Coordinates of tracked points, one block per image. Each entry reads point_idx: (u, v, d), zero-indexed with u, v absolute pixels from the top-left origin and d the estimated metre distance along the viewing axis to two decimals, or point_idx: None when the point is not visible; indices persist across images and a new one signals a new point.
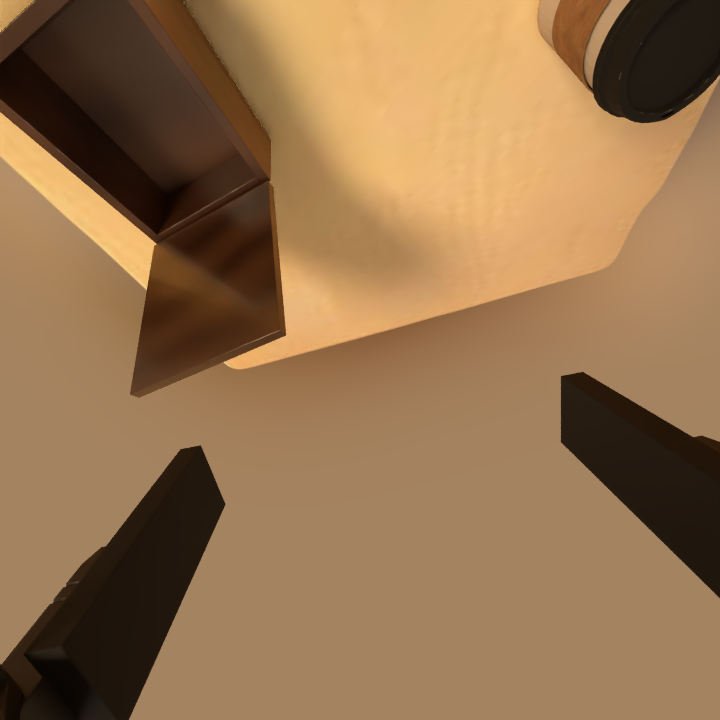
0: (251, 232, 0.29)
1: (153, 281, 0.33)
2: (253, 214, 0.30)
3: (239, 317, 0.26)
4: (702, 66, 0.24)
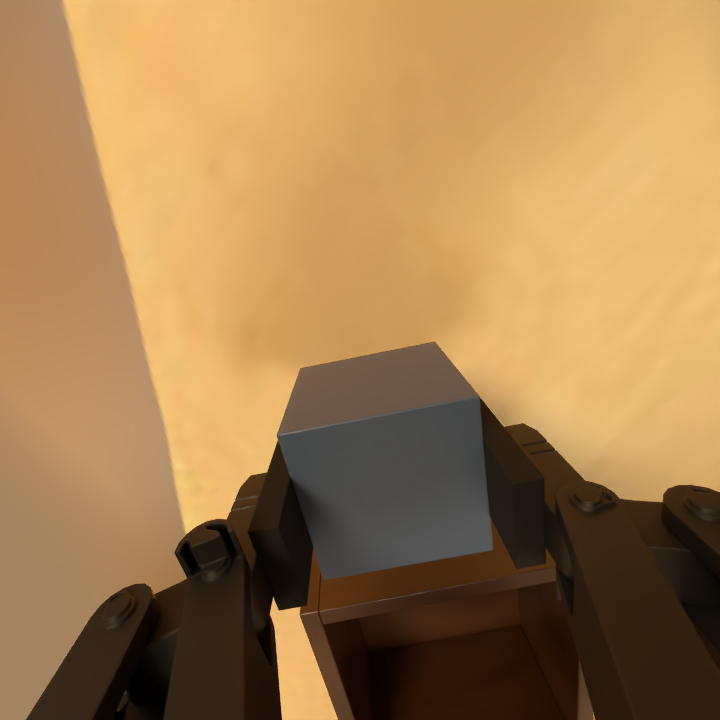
0: None
1: None
2: None
3: None
4: None
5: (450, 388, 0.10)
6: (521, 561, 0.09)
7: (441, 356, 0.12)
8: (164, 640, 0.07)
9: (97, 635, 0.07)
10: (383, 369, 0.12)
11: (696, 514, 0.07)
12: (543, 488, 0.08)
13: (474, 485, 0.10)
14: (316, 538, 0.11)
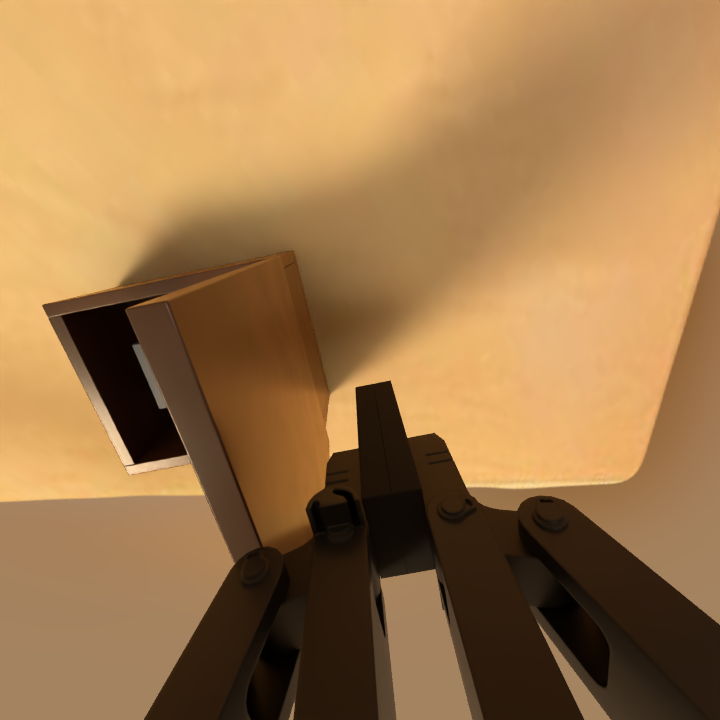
0: None
1: None
2: None
3: None
4: None
5: None
6: (411, 566, 0.09)
7: None
8: (293, 609, 0.07)
9: (237, 589, 0.07)
10: None
11: (543, 526, 0.07)
12: (422, 497, 0.09)
13: None
14: None
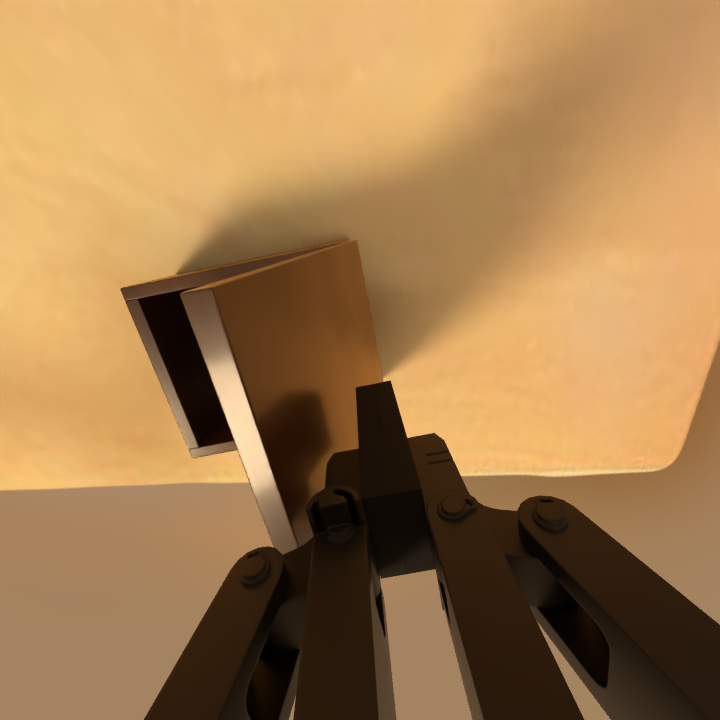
0: None
1: None
2: None
3: None
4: None
5: None
6: (411, 566, 0.09)
7: None
8: (293, 609, 0.07)
9: (237, 588, 0.07)
10: None
11: (543, 526, 0.07)
12: (422, 498, 0.09)
13: None
14: None
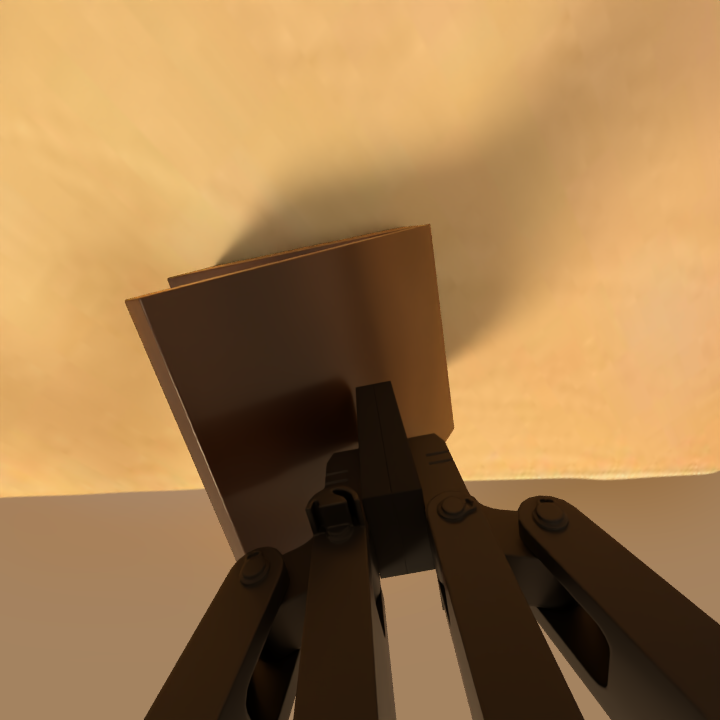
0: None
1: None
2: None
3: None
4: None
5: None
6: (411, 566, 0.09)
7: None
8: (293, 609, 0.07)
9: (237, 588, 0.07)
10: None
11: (543, 526, 0.07)
12: (422, 498, 0.09)
13: None
14: None
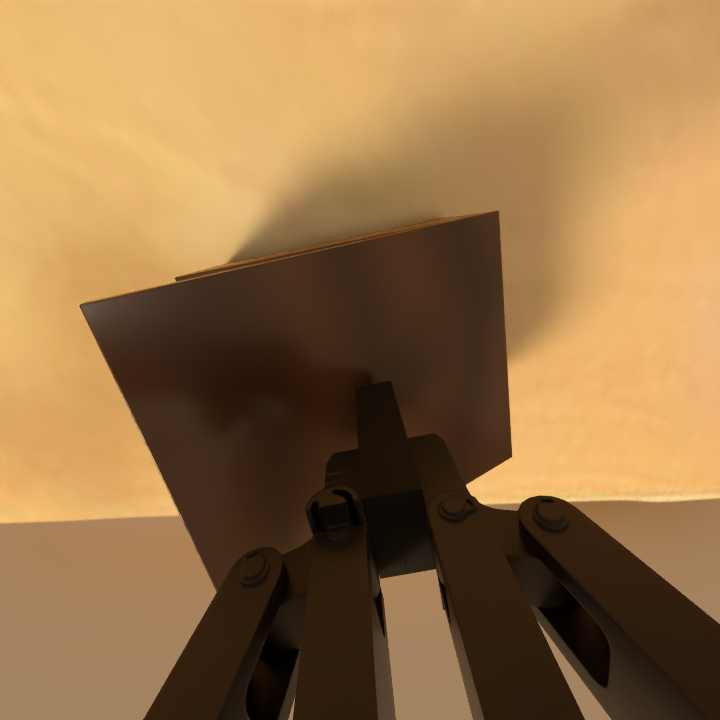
0: None
1: None
2: None
3: None
4: None
5: None
6: (412, 566, 0.09)
7: None
8: (293, 609, 0.07)
9: (237, 589, 0.07)
10: None
11: (544, 526, 0.07)
12: (423, 497, 0.09)
13: None
14: None
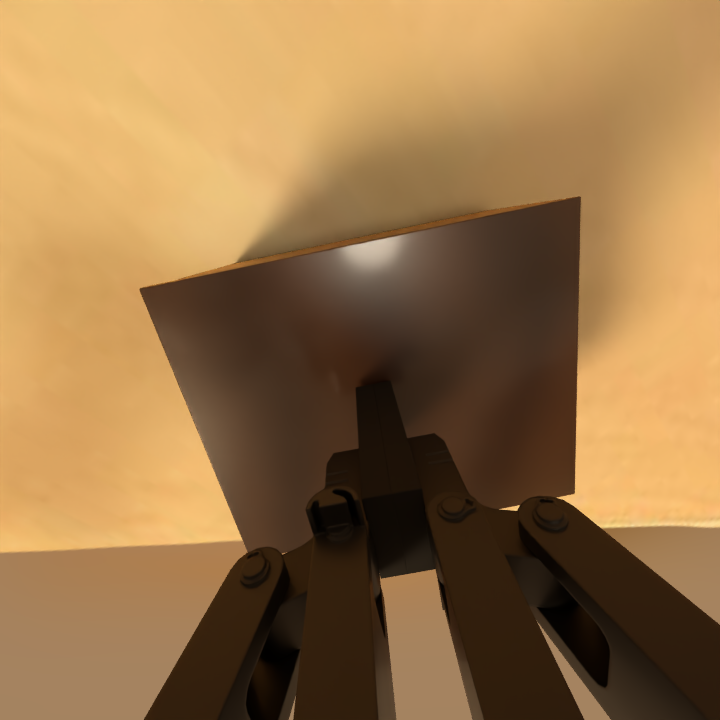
0: None
1: None
2: None
3: None
4: None
5: None
6: (411, 566, 0.09)
7: None
8: (293, 609, 0.07)
9: (237, 589, 0.07)
10: None
11: (543, 527, 0.07)
12: (422, 498, 0.09)
13: None
14: None
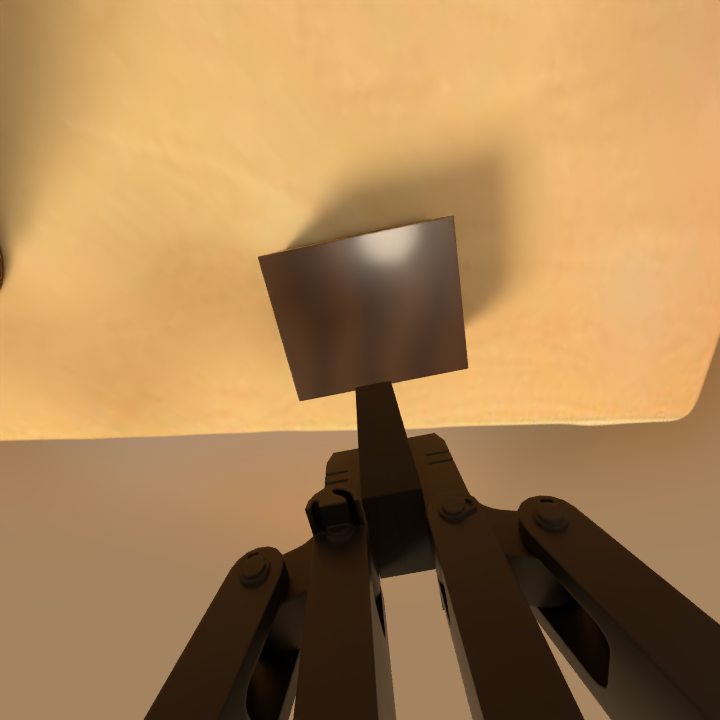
0: None
1: None
2: None
3: None
4: None
5: None
6: (411, 566, 0.09)
7: None
8: (293, 609, 0.07)
9: (237, 589, 0.07)
10: None
11: (543, 526, 0.07)
12: (422, 497, 0.09)
13: None
14: None
